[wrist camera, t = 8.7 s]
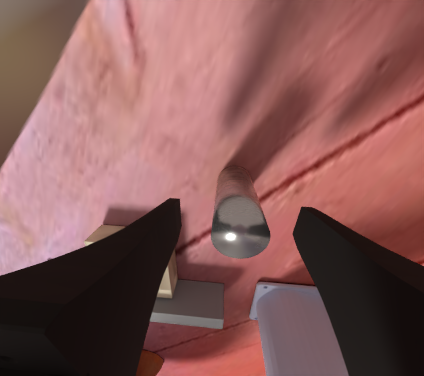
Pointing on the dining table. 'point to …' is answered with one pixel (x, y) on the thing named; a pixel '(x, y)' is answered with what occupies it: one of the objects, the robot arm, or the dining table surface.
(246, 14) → the dining table surface
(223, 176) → the dowel
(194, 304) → the backstop wall
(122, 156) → the dining table surface
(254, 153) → the dining table surface
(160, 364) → the goblet
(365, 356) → the robot arm
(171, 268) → the socket block
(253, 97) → the dining table surface
